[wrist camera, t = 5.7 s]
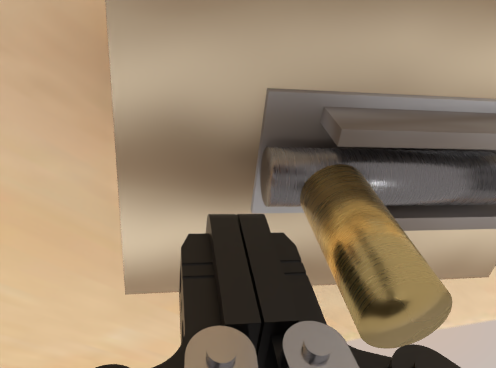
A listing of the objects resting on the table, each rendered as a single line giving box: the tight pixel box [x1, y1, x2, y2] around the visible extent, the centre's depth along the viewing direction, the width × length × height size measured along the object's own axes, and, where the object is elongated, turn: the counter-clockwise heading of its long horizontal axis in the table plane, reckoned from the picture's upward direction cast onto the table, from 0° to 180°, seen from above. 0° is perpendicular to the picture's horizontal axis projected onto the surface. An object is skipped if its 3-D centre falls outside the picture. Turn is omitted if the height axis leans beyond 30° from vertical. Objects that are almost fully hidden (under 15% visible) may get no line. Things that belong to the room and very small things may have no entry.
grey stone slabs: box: [105, 0, 496, 294], centre depth 17 cm, size 14×26×8 cm, turn 84°
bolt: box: [260, 147, 496, 348], centre depth 13 cm, size 2×10×7 cm, turn 84°
